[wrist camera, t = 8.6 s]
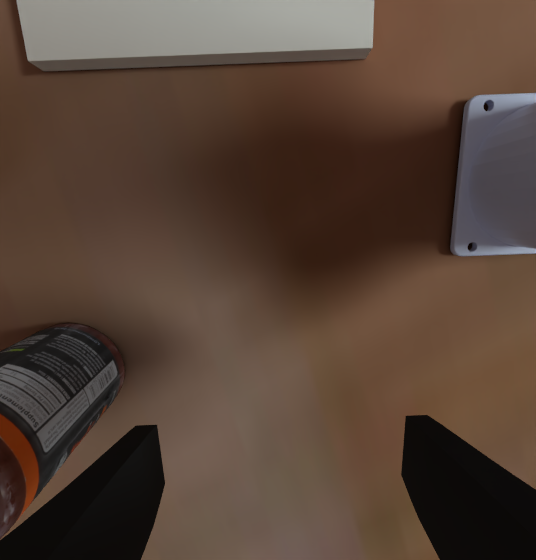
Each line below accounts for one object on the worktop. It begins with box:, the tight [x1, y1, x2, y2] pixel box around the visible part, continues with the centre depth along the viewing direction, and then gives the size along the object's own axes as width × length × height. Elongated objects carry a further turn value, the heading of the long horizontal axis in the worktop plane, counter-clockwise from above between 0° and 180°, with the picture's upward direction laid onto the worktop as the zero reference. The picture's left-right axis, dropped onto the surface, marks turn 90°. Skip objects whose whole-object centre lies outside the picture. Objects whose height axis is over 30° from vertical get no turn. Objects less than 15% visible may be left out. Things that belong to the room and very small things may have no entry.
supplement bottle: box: [0, 323, 125, 538], centre depth 13 cm, size 6×6×11 cm
